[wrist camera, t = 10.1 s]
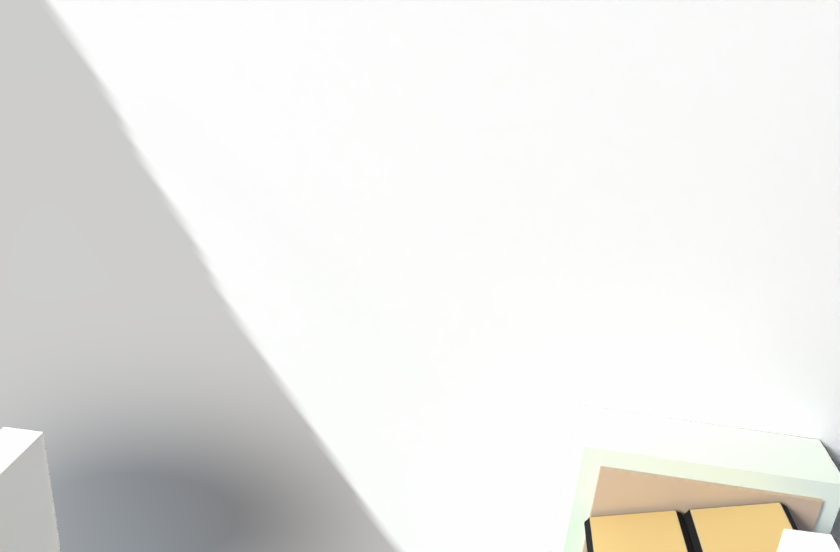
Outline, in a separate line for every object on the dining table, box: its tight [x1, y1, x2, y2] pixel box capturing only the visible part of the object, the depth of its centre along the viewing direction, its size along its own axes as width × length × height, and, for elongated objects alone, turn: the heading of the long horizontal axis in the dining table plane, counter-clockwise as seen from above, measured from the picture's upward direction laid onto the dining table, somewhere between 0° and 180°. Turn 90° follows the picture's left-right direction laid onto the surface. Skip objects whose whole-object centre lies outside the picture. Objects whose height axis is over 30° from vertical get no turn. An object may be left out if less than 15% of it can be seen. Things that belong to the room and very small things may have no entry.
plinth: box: [550, 405, 840, 552], centre depth 42 cm, size 13×13×4 cm
